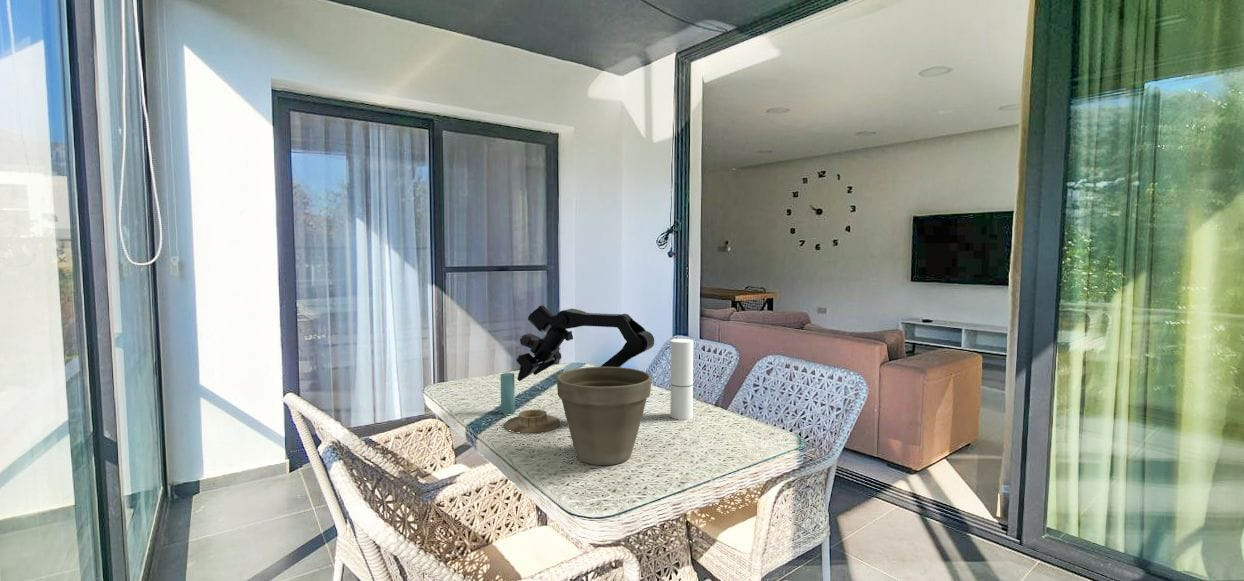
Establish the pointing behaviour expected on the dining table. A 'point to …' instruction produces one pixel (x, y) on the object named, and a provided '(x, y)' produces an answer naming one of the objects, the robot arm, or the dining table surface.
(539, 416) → the walnut stand
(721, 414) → the dining table surface
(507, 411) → the teal peg
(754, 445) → the dining table surface
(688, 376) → the cylindrical container
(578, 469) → the dining table surface
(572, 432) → the plant pot
